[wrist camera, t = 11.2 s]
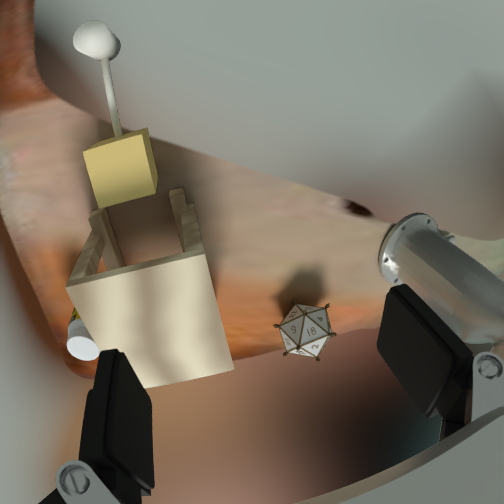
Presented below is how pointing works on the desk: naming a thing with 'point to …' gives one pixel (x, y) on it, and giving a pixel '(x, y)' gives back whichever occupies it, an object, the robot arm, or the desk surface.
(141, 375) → the birch shelf
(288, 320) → the game die
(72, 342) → the supplement bottle
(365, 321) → the desk surface
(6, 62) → the desk surface
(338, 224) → the desk surface
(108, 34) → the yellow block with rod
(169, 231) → the desk surface
